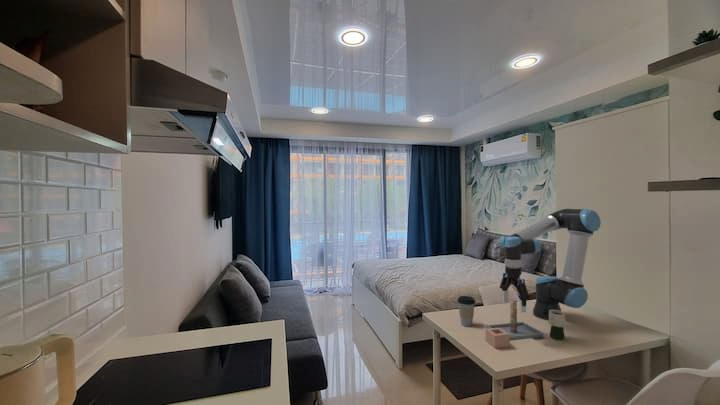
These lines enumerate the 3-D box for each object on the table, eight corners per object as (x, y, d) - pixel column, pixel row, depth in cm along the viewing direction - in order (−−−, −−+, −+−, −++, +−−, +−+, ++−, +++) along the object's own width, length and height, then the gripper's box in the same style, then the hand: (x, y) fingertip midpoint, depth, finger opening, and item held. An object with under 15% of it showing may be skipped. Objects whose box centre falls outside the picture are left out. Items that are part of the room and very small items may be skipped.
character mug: (558, 333, 160) (558, 308, 160) (571, 338, 154) (571, 313, 153) (542, 336, 157) (542, 311, 156) (556, 342, 150) (555, 316, 150)
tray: (522, 325, 170) (522, 321, 170) (543, 338, 155) (543, 333, 155) (486, 329, 166) (486, 325, 166) (503, 342, 151) (503, 337, 151)
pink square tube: (499, 341, 152) (499, 327, 152) (509, 348, 145) (509, 334, 145) (485, 343, 151) (485, 328, 151) (494, 350, 144) (494, 335, 144)
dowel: (514, 330, 162) (514, 300, 162) (518, 332, 159) (518, 302, 159) (509, 330, 162) (509, 300, 161) (513, 333, 159) (512, 302, 159)
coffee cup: (464, 320, 179) (464, 294, 179) (479, 325, 172) (478, 298, 171) (454, 324, 174) (453, 297, 174) (468, 329, 166) (468, 302, 166)
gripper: (492, 262, 172) (493, 300, 172) (523, 273, 147) (524, 317, 148) (504, 261, 173) (505, 298, 173) (537, 271, 148) (538, 315, 149)
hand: (514, 307), depth 160 cm, fingers open, 13 cm apart
